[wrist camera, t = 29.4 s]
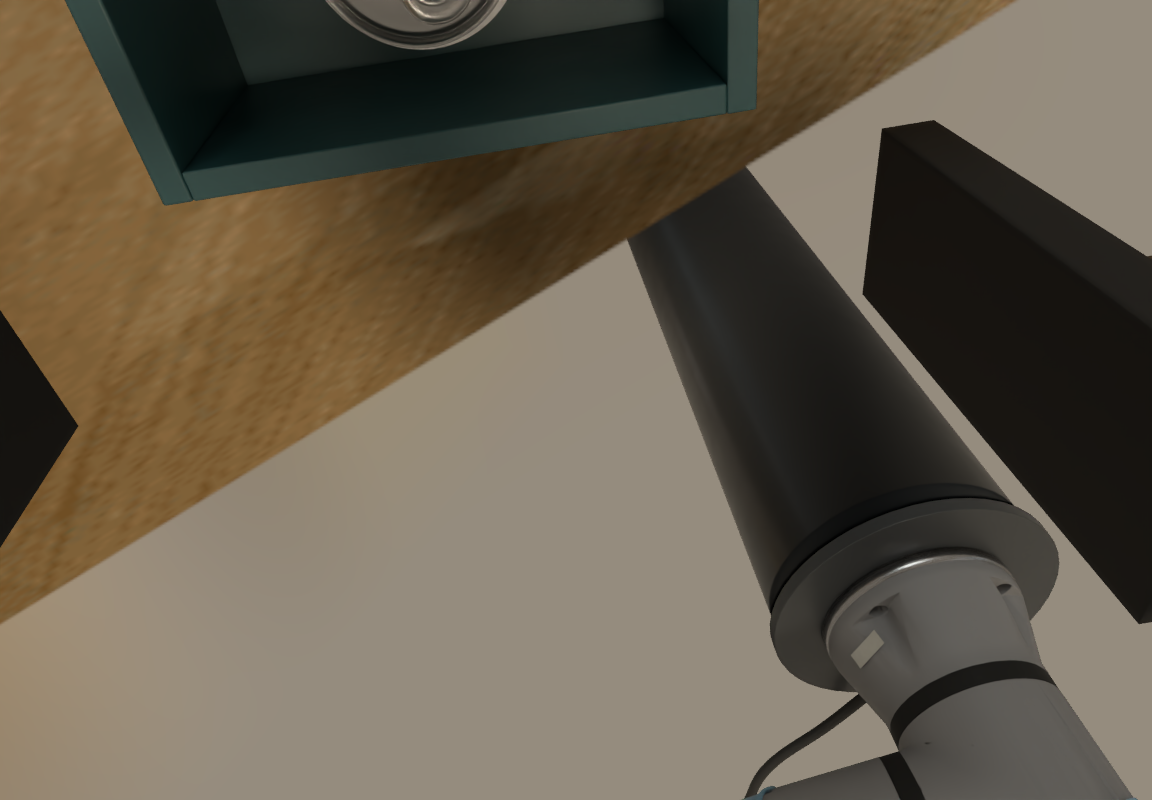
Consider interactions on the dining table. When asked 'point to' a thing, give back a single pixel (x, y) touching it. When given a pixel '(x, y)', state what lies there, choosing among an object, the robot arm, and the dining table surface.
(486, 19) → the can
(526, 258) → the dining table surface
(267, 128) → the cooler
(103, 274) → the dining table surface
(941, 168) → the robot arm
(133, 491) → the dining table surface
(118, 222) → the dining table surface
